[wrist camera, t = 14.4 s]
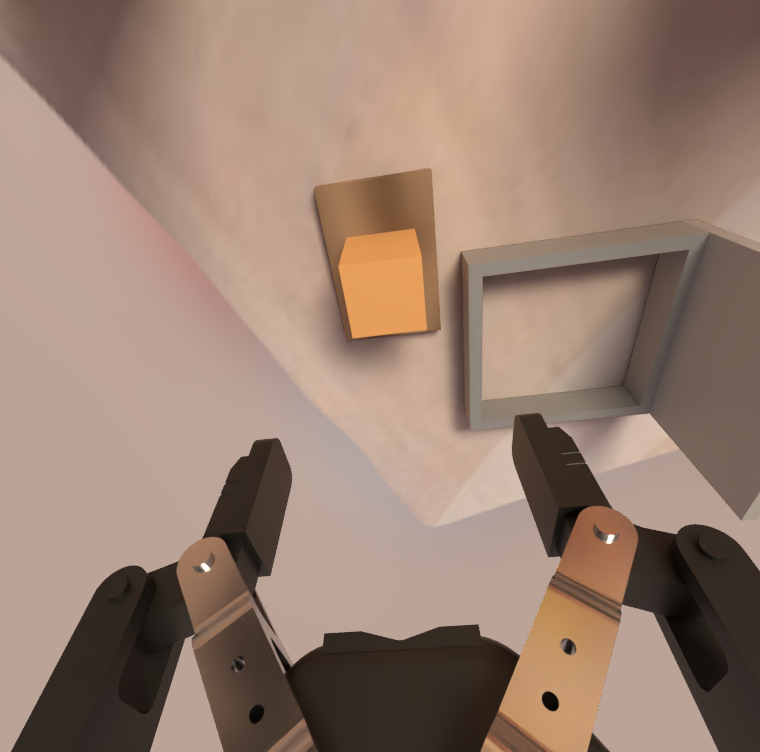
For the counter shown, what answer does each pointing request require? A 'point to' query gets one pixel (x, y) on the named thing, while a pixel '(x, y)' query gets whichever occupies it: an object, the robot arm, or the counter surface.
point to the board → (382, 226)
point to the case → (655, 346)
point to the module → (383, 283)
